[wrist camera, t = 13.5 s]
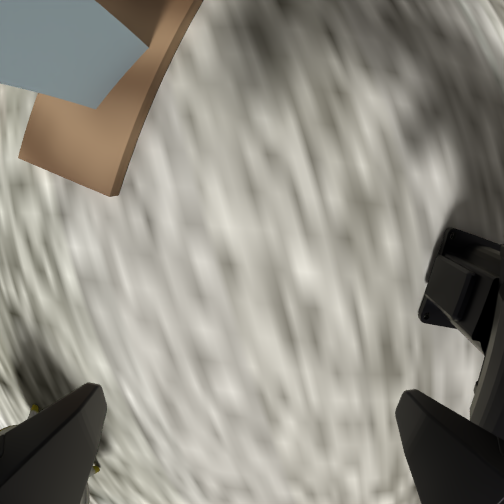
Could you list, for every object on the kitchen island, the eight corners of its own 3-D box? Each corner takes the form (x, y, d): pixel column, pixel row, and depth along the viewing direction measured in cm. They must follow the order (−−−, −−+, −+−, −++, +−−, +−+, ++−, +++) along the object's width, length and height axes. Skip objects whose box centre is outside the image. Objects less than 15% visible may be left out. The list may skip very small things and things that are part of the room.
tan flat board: (111, -28, 15) (104, -35, 14) (215, -20, 15) (211, -29, 14) (28, 157, 19) (18, 157, 18) (118, 195, 19) (109, 196, 18)
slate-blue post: (148, 47, 16) (16, -59, 3) (95, 109, 17) (-71, 69, 4) (105, 15, 15) (-15, -69, 3) (58, 72, 16) (-84, 28, 4)
